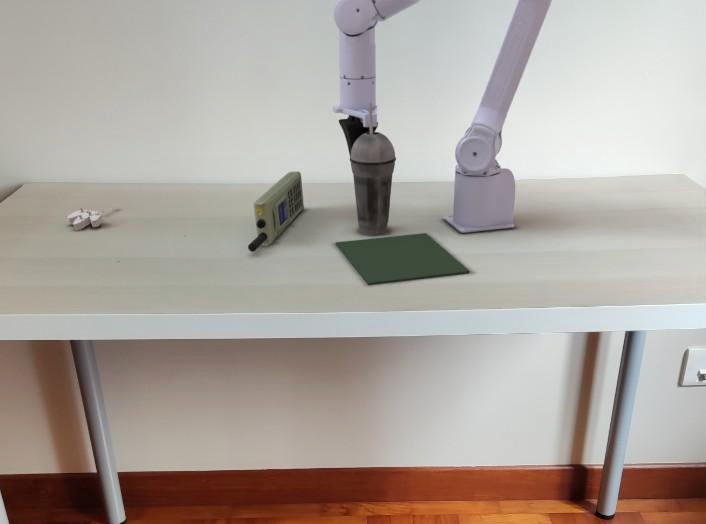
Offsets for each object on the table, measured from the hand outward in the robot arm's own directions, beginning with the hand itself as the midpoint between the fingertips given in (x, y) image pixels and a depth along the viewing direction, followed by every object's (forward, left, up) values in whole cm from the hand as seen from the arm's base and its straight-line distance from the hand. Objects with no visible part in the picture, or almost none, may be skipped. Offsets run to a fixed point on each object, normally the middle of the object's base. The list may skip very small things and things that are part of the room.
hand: (358, 164), depth 135 cm
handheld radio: (+15, +3, -9) cm, 18 cm away
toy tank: (+43, -12, -9) cm, 45 cm away
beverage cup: (0, +8, -9) cm, 12 cm away
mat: (0, +22, -9) cm, 23 cm away
